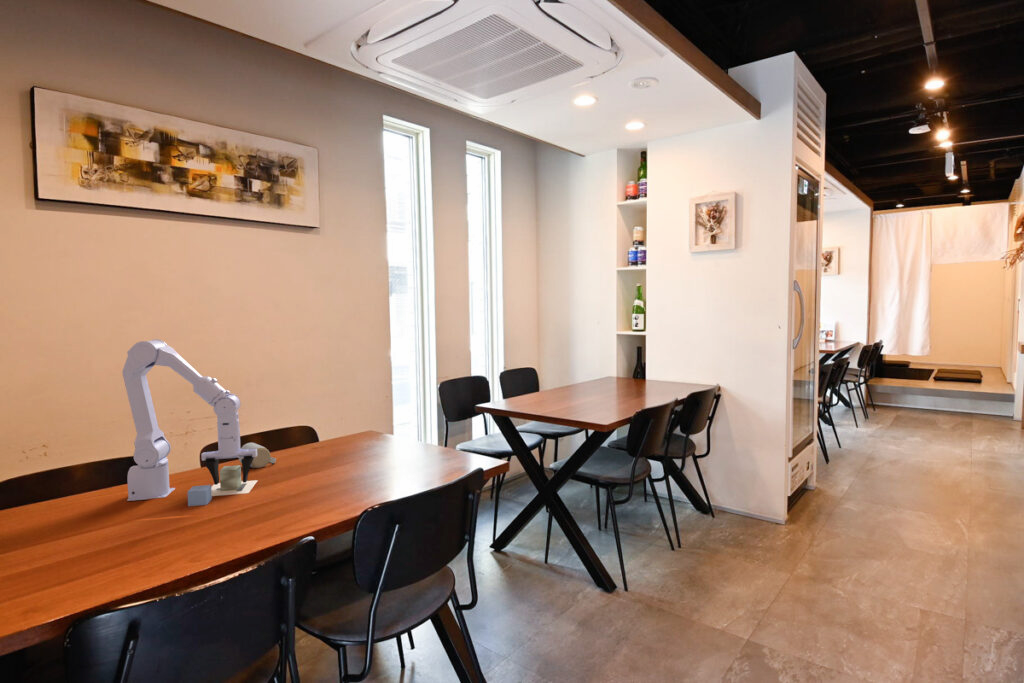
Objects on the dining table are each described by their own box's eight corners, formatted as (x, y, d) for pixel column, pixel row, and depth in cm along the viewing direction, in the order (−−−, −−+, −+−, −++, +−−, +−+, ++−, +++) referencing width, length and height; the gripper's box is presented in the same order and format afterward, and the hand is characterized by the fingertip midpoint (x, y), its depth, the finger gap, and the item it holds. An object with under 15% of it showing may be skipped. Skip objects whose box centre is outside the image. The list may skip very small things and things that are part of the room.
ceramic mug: (251, 471, 180) (251, 448, 180) (238, 467, 185) (237, 444, 185) (281, 464, 189) (281, 442, 189) (267, 460, 194) (267, 438, 193)
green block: (220, 491, 160) (219, 470, 160) (225, 486, 164) (224, 466, 164) (237, 489, 161) (236, 469, 161) (241, 485, 165) (240, 465, 165)
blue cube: (188, 508, 148) (187, 491, 148) (194, 502, 153) (193, 486, 152) (206, 506, 149) (205, 490, 149) (211, 500, 154) (211, 484, 153)
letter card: (202, 498, 156) (202, 496, 156) (215, 484, 167) (214, 483, 167) (248, 494, 158) (248, 493, 158) (257, 481, 170) (257, 480, 170)
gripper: (258, 432, 167) (260, 476, 168) (205, 435, 164) (208, 480, 165) (253, 437, 160) (255, 483, 161) (198, 440, 157) (200, 487, 158)
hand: (231, 482), depth 163 cm, fingers open, 7 cm apart
